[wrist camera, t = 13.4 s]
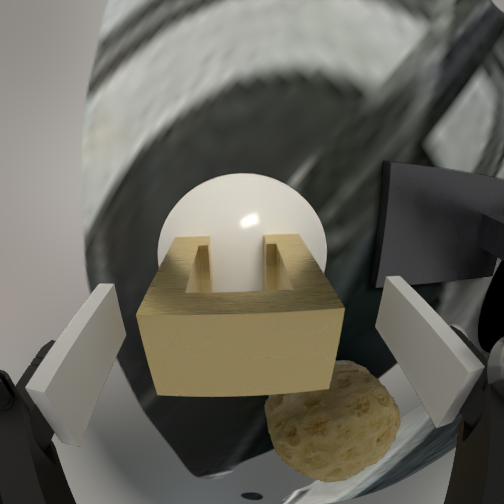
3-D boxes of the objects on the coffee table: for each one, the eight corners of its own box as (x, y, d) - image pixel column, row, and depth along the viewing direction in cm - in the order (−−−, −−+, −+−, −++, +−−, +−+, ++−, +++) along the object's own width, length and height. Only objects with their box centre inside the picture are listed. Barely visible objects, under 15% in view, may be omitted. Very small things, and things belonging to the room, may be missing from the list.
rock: (287, 324, 25) (227, 416, 17) (420, 352, 20) (405, 465, 12) (285, 393, 29) (239, 470, 21) (389, 419, 24) (364, 507, 16)
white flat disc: (152, 176, 16) (149, 178, 16) (329, 173, 17) (332, 175, 16) (170, 327, 20) (169, 332, 19) (316, 322, 20) (318, 327, 20)
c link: (182, 298, 18) (157, 395, 11) (175, 237, 17) (136, 314, 9) (295, 295, 19) (328, 388, 11) (298, 233, 17) (345, 308, 10)
